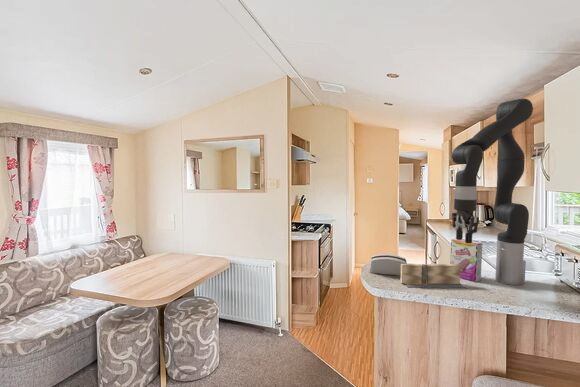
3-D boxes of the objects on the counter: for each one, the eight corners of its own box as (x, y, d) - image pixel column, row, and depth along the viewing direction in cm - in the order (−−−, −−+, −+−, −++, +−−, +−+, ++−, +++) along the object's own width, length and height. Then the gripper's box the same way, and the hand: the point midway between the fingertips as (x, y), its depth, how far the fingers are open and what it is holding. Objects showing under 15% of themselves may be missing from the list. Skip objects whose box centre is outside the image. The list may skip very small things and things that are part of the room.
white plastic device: (408, 272, 140) (408, 253, 136) (408, 278, 136) (408, 260, 132) (370, 268, 146) (369, 251, 142) (369, 275, 142) (368, 257, 138)
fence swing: (457, 282, 127) (458, 264, 127) (460, 283, 125) (460, 265, 125) (426, 281, 128) (426, 264, 127) (427, 283, 126) (428, 265, 125)
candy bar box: (449, 275, 137) (450, 239, 136) (455, 273, 140) (456, 237, 139) (475, 282, 128) (477, 244, 127) (481, 280, 131) (483, 242, 130)
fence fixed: (425, 283, 128) (425, 264, 127) (427, 284, 126) (427, 265, 125) (400, 282, 128) (400, 263, 128) (401, 284, 126) (402, 265, 126)
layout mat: (442, 271, 142) (442, 270, 142) (465, 287, 122) (465, 287, 122) (392, 271, 143) (392, 270, 143) (407, 287, 123) (407, 286, 123)
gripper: (487, 199, 111) (485, 245, 112) (464, 196, 125) (462, 237, 126) (466, 199, 110) (465, 245, 112) (445, 196, 125) (444, 237, 126)
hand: (463, 241), depth 119 cm, fingers open, 5 cm apart
